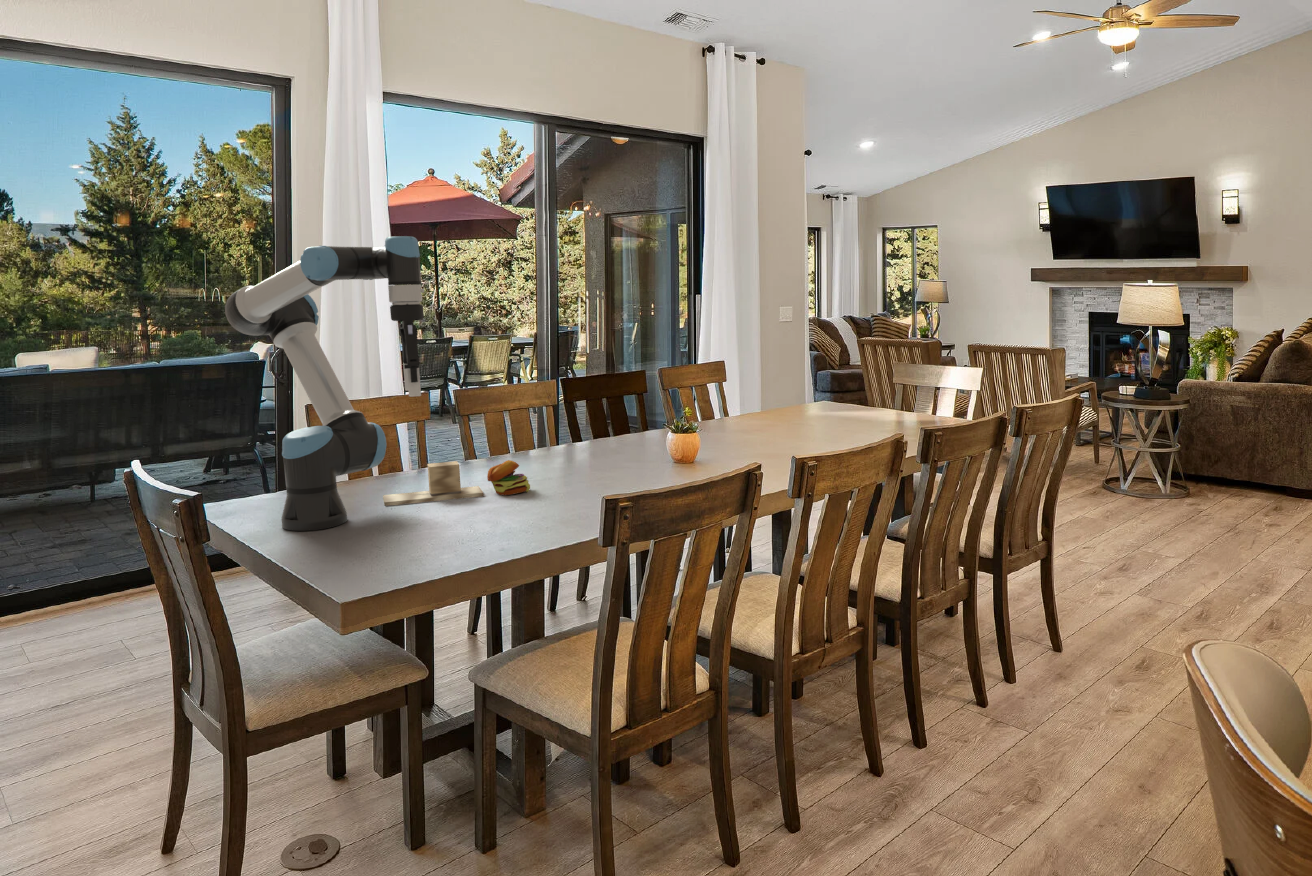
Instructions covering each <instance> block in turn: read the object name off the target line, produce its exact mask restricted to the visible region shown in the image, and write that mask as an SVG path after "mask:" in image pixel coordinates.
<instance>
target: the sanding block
mask: <svg viewBox="0 0 1312 876" xmlns="http://www.w3.org/2000/svg"><path fill="white" fill-rule="evenodd" d="M460 471H461V469H460V463H459V462H458V460H456V461H455V460H454V461H445V462H432V463H427V475H428V476H427V478H428V491H429V492H430V495H431V496H437V495H447V494H458V493H461V488H462V485H461V484H462V483H461V473H460Z"/></svg>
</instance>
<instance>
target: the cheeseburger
mask: <svg viewBox="0 0 1312 876" xmlns="http://www.w3.org/2000/svg"><path fill="white" fill-rule="evenodd" d="M519 467H520V465H519V463H517V462H516V461H513V460H509V459H508V460H505V461H503V463H499V464H497V465H493V466H492V467H490V468H488V470H487V481H488V482H490V483H492V486H493V489H494V491H495V493H496V494H498V495H500V496H513V495H517V494H520V493H525V492H526V493H528V492H529V491H530V489H531V484H530V483H529V480H528V476H527V475H525V474H524V473H516V470H517V469H518V468H519Z"/></svg>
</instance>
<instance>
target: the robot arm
mask: <svg viewBox="0 0 1312 876" xmlns="http://www.w3.org/2000/svg"><path fill="white" fill-rule="evenodd" d="M420 256H421V254H420V248H419V241H418V239H417V238H416V237H414V236H412V235H411V236H407V235H404V236H402V235H401V236H400V235H399V236H396V235H395V236H387V237H386V238H385V239H384V246H338V245H337V246H334V245H333V246H332V245H330V246H327V245H318V246H317V245H315V246H309V247H306V248H305V249H304V250H303V253H302V254H301V255H300V260H297V262H295V263H293V264H291V265H289V266H287V267H286V268H284V269H282V270H280V271H278V272H277V273H275V274H273V275H272V276H269V277H268V278H265V279H264V280H262V281H260V282H259V283H257V284H256V285H246V286H243V287H241V288H239V289H238V290H236V291H234V292H232V294H231V295H230V296H229V297H228V298H227V300H226V301H225V305H224V313H225V318H226V320H227V322H228V323H229V324H230V326H231V327H232V328H233V329H234V330H236V331H237V332H239V333H241V334H244V335H248V336H255V337H257V336H269V337H270V339H271V341H272V343H273V345H274V346H275V347H276V348H279V349H283V351H284V352H285V355H286V356H287V358H288V360H289V362H290V364H291V366H292V368H293V370H294V372H295V375H297V378H298V380H299V382H300V384H301V386H302V387H303V389H304V391H305V393H306V396H307V397H308V398H309V399H308V400H309V401H310V403H311V405H312V407H313V409H314V410H315V412H316V414H317V417H318V418H319V420H320V422H321V424H322V425H314V426H313V425H312V426H310V427H306V426H305V427H302V428H297V429H295V430H291V432H288V433H287V434H286V435H284V437H283V438H282V443H281V444H282V446H281V449H282V450H281V456H282V461H283V469H284V470H283V471H284V479H285V489H286V498H285V502H284V506H283V511H282V514H281V526H282V527H281V528H283V529H284V530H286V531H295V532H307V531H310V532H311V531H317V530H318V531H319V530H325V529H328V528H329V529H331V528H333V527H337V526H340V525H342V524H345V523H346V522H347V521H348V513H347V510H346V507H345V505H344V503H343V500H342V498H341V496H340V494H339V492H338V485H337V484H338V483H337V477H339V476H343V475H348V474H353V473H357V472H363V471H367V470H370V469H372V468H375V467H378V466H379V465H380V464H381V463H382V462H383V461H384V458H385V456H386V450H387V437H386V434H385V432H384V430H383V428H382V427H381V425H379V424H377V423H375V422H368V420H367V418H366V417H365V415H364V414H363V412H362V411H359V410H356V409H354V406H352V403H351V401H350V399H349V397H348V396H347V394H346V392H345V390H344V388H343V386H342V384H341V382H340V380H339V379H338V376H337V375H336V373H335V370H334V369H333V367H332V365H331V363H330V361H329V360H328V358H327V356H326V354H325V352H324V350H323V348H322V346H321V344H320V343H319V341H318V339H317V337H316V333H317V331H318V323H319V314H318V313H319V310H318V306H317V304H316V302H315V300H314V298H312V296H311V295H310V294H311V293H313V292H315V291H317V290H318V289H320V288H322V287H325V286H327V285H328V284H330V283H332V282H334V281H338V280H339V281H341V280H343V281H344V280H363V281H367V280H369V281H372V280H379V279H380V280H381V279H387V281H388V283H387V288H388V301H389V303H391V305H390V306H389V310H390V311H389V312H390V319H391V321H393V322H401V323H400V328H398V329H399V330H398V332H399V333H398V334H399V337H400V343H401V353H402V357H401V359H402V363H403V367H402V368H403V378H404V379H403V380H404V390H405V391H407V392H408V397H413V398H414V397H422V389H421V377H420V376H421V375H420V359H419V358H420V357H419V351H418V342H419V341H418V333H419V332H418V328H417V326H416V324H414V321H422V320H424V318H425V317H424V316H425V315H424V313H425V312H424V305H423V304H422V301H423V295H422V294H423V293H425V289H424V288H422V276H421V275H422V274H421V260H420V259H421V257H420ZM420 302H421V303H420Z"/></svg>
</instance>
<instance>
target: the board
mask: <svg viewBox="0 0 1312 876" xmlns="http://www.w3.org/2000/svg"><path fill="white" fill-rule="evenodd" d="M484 495H485V494H484V491H483V490H482V488H481V487H480V486H479V485H476V486H474V485H473V486H467V487H466V486H465V487H461V493H458V494H447V495H437V496H431V495H430V492H429V490H423V491H414V492H413V491H412V492H404V493H393V494H384V495H382V499H383V504H384V506H385V507H386V506H387V507H388V506H399V505H407V504H408V505H409V504H418V503H429V502H438V501H447V500H460V499H470V498H480V497H484Z"/></svg>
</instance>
